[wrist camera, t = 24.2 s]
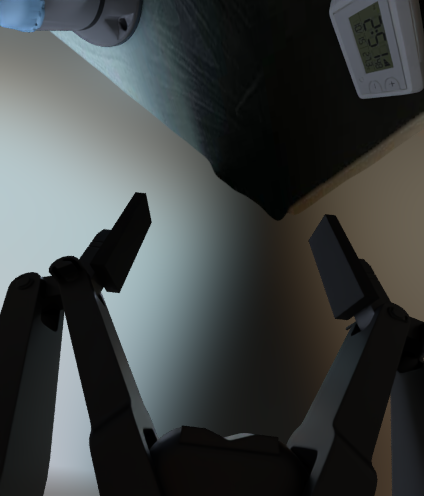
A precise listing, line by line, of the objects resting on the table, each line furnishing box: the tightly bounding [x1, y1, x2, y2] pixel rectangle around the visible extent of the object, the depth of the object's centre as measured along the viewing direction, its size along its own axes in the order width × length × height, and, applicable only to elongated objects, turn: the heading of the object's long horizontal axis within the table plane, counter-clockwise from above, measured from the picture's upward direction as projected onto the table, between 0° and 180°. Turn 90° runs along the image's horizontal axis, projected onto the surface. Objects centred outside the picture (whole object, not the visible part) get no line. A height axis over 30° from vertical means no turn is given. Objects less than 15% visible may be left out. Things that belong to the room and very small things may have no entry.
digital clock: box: [329, 0, 424, 99], centre depth 28 cm, size 16×9×11 cm, turn 32°
